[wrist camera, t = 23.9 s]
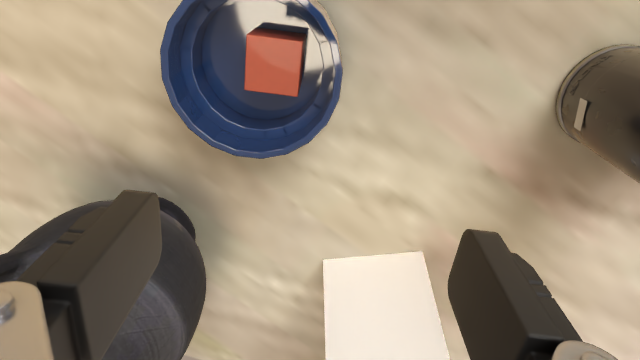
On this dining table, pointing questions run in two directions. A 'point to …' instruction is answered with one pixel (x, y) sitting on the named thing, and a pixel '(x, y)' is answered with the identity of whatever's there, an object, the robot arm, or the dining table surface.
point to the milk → (381, 309)
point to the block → (274, 61)
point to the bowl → (229, 74)
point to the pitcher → (156, 298)
